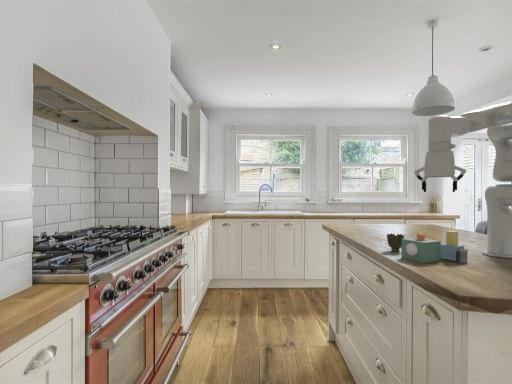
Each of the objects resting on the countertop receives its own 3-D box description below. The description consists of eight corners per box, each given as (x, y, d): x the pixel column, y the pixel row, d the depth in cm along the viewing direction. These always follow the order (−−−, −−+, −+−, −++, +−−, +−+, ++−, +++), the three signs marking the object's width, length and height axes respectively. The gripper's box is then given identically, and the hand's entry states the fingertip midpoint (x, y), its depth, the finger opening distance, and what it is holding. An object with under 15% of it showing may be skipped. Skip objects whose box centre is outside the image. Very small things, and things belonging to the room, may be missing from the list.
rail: (423, 253, 136) (423, 242, 136) (467, 262, 119) (467, 249, 119) (416, 253, 134) (416, 242, 134) (460, 263, 117) (460, 250, 117)
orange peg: (419, 251, 125) (420, 233, 125) (426, 252, 122) (426, 234, 122) (414, 251, 124) (415, 233, 124) (421, 253, 121) (421, 234, 121)
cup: (405, 251, 140) (405, 234, 140) (403, 253, 134) (403, 236, 134) (387, 249, 144) (388, 232, 144) (385, 251, 138) (385, 234, 138)
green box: (418, 256, 130) (418, 237, 130) (440, 260, 120) (440, 241, 120) (400, 257, 125) (401, 238, 125) (422, 263, 116) (422, 242, 116)
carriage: (449, 257, 126) (449, 230, 126) (464, 260, 121) (464, 232, 121) (439, 258, 124) (440, 230, 124) (454, 261, 118) (454, 232, 118)
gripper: (466, 147, 115) (465, 192, 115) (415, 151, 124) (415, 191, 124) (466, 145, 109) (466, 192, 109) (413, 148, 118) (413, 191, 118)
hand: (439, 192), depth 116 cm, fingers open, 9 cm apart
